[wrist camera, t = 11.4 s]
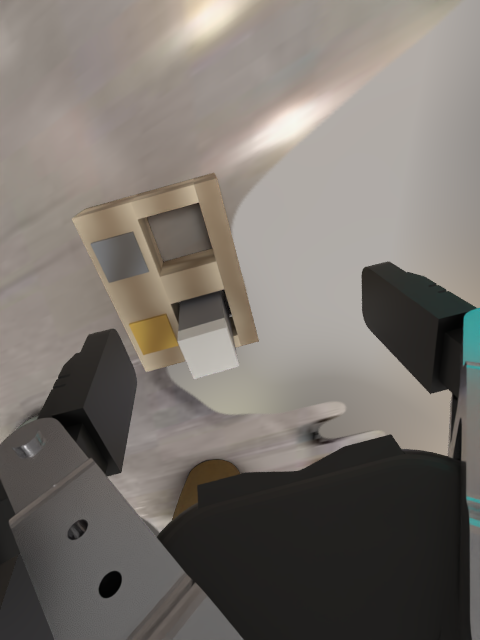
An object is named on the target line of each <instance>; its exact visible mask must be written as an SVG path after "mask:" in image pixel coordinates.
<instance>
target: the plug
mask: <svg viewBox="0 0 480 640" xmlns="http://www.w3.org/2000/svg"><path fill="white" fill-rule="evenodd" d="M177 342H178V344H179V346H180V349H181V351H182V353H183V356H184V358H185V360H186V363H187V365H188V367H189V370H190V372H191V374H192V377H193V379H197V378H201V377H204V376H207V375H211V374H214V373H218V372H221V371H224V370H228V369H232V368H235V367H238V366H239V363H238V358H237V353H236V348H235V343H234V338H233V333H232V328H231V322H230V317H229V312H228V309H227V306H226V303H225V300H224V297H223V293H222V290H220V291H216V292H213V293H209V294H205V295H202V296H198V297H194V298H191V299H187V300H183V301H180V313H179V327H178V341H177Z"/></svg>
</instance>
